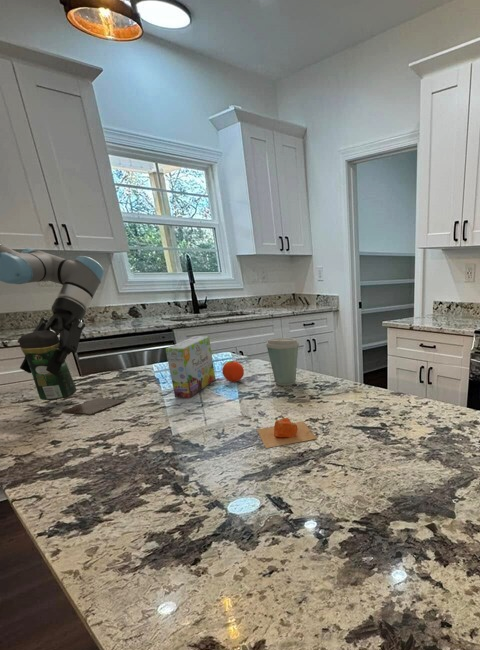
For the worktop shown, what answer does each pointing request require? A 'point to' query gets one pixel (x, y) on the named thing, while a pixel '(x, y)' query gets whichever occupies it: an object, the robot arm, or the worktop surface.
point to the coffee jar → (46, 365)
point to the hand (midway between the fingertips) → (38, 371)
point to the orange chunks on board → (285, 433)
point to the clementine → (233, 371)
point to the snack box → (190, 365)
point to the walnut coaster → (93, 406)
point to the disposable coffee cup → (283, 359)
